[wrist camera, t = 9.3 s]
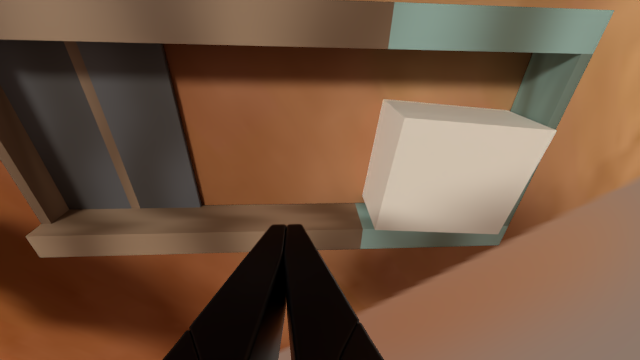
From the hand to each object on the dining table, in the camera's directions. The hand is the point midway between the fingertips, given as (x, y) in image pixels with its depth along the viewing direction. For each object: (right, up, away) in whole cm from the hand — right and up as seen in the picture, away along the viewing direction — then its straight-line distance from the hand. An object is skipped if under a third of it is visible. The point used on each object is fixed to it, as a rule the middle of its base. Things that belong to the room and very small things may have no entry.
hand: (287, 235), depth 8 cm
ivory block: (+7, +3, +8) cm, 12 cm away
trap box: (-1, +4, +7) cm, 8 cm away
